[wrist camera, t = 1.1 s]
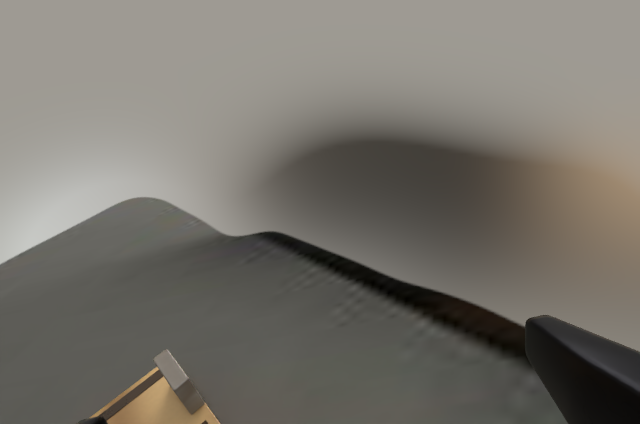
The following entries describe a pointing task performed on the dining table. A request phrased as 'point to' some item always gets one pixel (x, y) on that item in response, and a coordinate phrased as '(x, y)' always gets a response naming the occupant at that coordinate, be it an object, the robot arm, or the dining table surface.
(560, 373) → the robot arm
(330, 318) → the dining table surface
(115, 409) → the score rail
